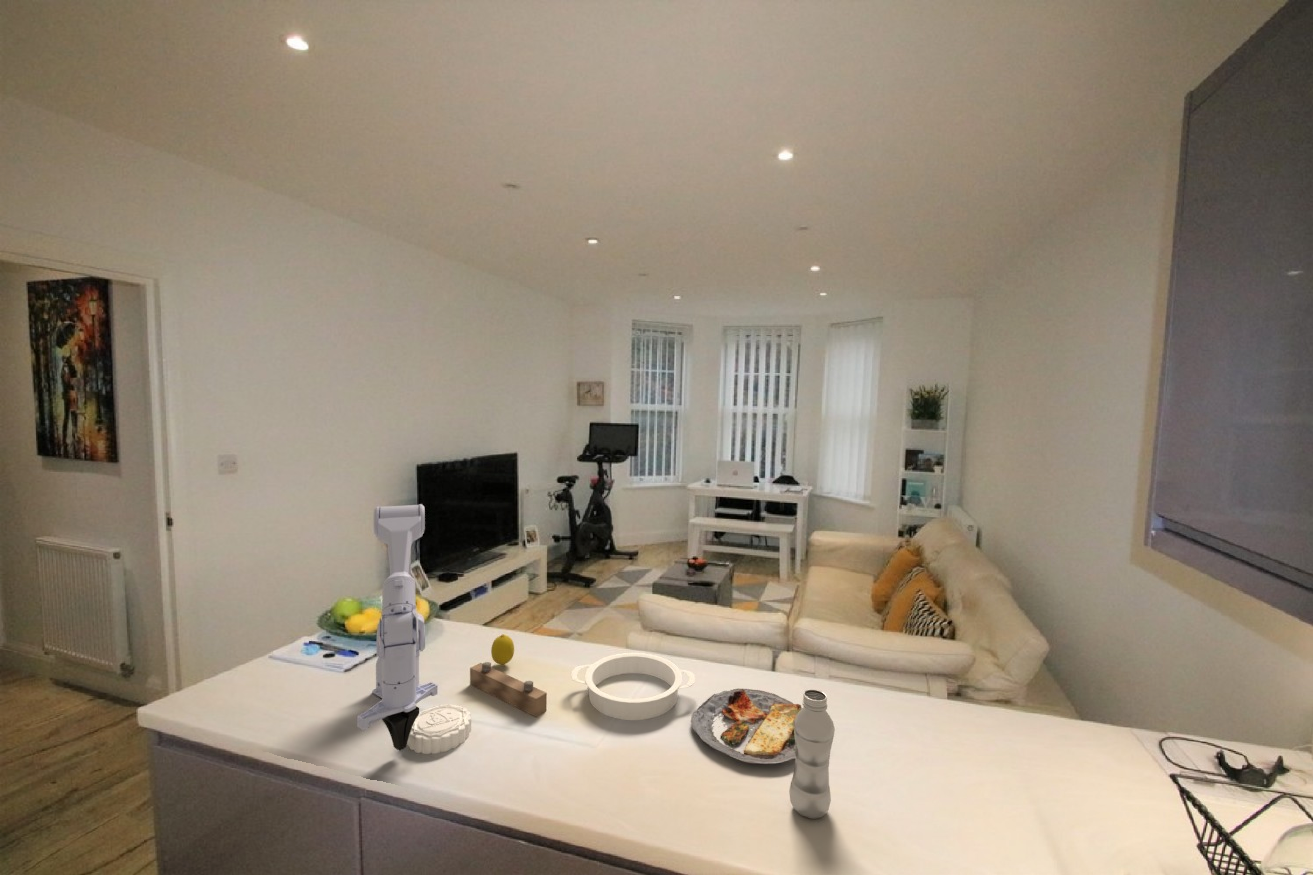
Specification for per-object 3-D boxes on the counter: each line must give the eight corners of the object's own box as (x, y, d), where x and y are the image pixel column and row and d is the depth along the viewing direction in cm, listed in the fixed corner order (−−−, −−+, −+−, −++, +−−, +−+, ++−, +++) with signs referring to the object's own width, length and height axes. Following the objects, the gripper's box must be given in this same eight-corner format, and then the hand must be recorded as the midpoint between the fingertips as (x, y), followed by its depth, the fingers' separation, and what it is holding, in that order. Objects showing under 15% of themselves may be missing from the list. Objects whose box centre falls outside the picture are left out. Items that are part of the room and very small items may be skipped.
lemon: (507, 672, 134) (507, 640, 133) (487, 669, 135) (487, 638, 134) (517, 661, 139) (518, 631, 138) (497, 659, 140) (498, 628, 140)
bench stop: (470, 684, 128) (470, 661, 127) (480, 678, 130) (480, 656, 130) (536, 716, 115) (536, 691, 115) (546, 710, 118) (546, 685, 117)
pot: (559, 720, 115) (560, 698, 115) (580, 668, 137) (580, 649, 137) (695, 728, 113) (696, 706, 113) (694, 674, 136) (694, 655, 135)
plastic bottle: (783, 796, 94) (788, 685, 93) (821, 795, 95) (827, 684, 93) (796, 825, 88) (801, 706, 86) (836, 823, 88) (843, 705, 87)
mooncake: (463, 711, 117) (463, 695, 117) (478, 742, 107) (478, 725, 107) (402, 728, 111) (402, 712, 110) (411, 763, 100) (411, 744, 100)
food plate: (730, 685, 130) (731, 671, 130) (827, 722, 117) (828, 706, 116) (672, 740, 110) (672, 723, 109) (781, 792, 96) (782, 773, 96)
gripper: (371, 701, 92) (372, 777, 93) (446, 667, 104) (447, 735, 105) (350, 688, 96) (351, 761, 97) (425, 656, 108) (425, 722, 109)
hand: (399, 746), depth 102 cm, fingers closed
